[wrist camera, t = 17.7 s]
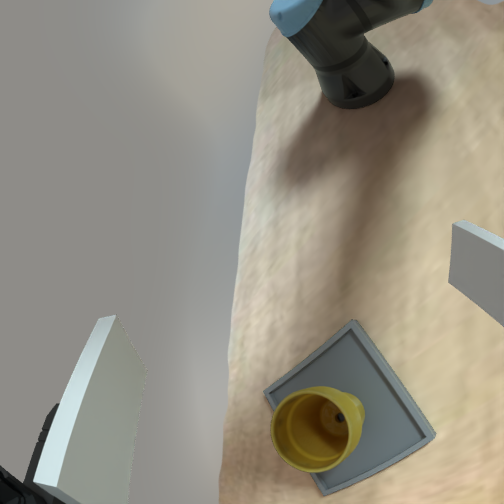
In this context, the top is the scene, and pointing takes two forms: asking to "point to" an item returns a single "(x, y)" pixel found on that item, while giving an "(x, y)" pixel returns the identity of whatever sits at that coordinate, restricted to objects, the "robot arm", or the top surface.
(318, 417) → the plant pot
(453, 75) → the top surface
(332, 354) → the charcoal tray
